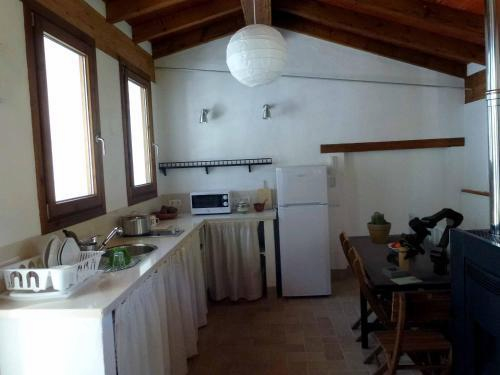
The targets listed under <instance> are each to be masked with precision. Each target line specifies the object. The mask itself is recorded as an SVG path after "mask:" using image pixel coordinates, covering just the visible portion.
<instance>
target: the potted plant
mask: <svg viewBox="0 0 500 375" xmlns="http://www.w3.org/2000/svg"><path fill="white" fill-rule="evenodd" d="M370 219H371V221H369V222H367V223H366V226H367V230H368V234H369V236H370V239H371V243H373V244H376V245H383V244H387V243H388V240H389V238H390V237H389V236H390V233H391V229H392V223H391V222H390V221H387V219H386V218H385V214H384V213H381V212H379V211H375V212H374V213H373V214H372V215H371V216H370Z"/></svg>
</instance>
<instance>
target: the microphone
mask: <svg viewBox="0 0 500 375" xmlns="http://www.w3.org/2000/svg"><path fill="white" fill-rule="evenodd" d="M386 262H389V263H392V264H393V265H395V266H397V267H399V260H397V259H396V256H395V255H394V254H392V253H389V254H387V255H386Z"/></svg>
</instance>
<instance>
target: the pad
mask: <svg viewBox="0 0 500 375" xmlns="http://www.w3.org/2000/svg"><path fill="white" fill-rule="evenodd" d="M389 279H390V281H392V282H394V283H395V284H398V285H400V286H401V285H407V284H408V285H409V284H416V283H423V280H421V279H419V278H417V277H415V276H412V275H411V276H405V277H397V278H389Z"/></svg>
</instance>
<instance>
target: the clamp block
mask: <svg viewBox="0 0 500 375" xmlns="http://www.w3.org/2000/svg"><path fill="white" fill-rule="evenodd" d="M381 269H382V270H381V274H382V275H384V276H386V277H387V278H389V279H397V278H404V277H408V275H407V271H403V270H400V269H399V267H398V266H396V265H395V266H388V267H386V266H385V267H382V268H381Z"/></svg>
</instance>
